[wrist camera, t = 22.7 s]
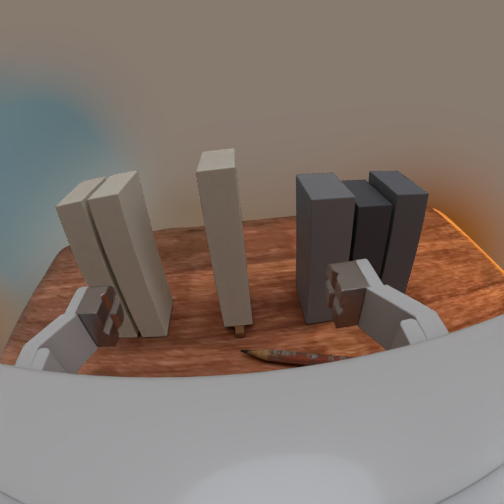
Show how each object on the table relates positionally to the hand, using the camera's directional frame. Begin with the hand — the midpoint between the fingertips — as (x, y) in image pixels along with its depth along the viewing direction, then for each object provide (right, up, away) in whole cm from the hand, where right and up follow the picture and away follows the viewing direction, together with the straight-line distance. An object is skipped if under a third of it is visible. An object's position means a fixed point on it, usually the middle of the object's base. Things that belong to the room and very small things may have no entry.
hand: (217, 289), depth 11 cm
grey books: (+11, -3, +17) cm, 21 cm away
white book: (0, -4, +17) cm, 17 cm away
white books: (-6, -5, +17) cm, 19 cm away
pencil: (+10, -8, +11) cm, 16 cm away
